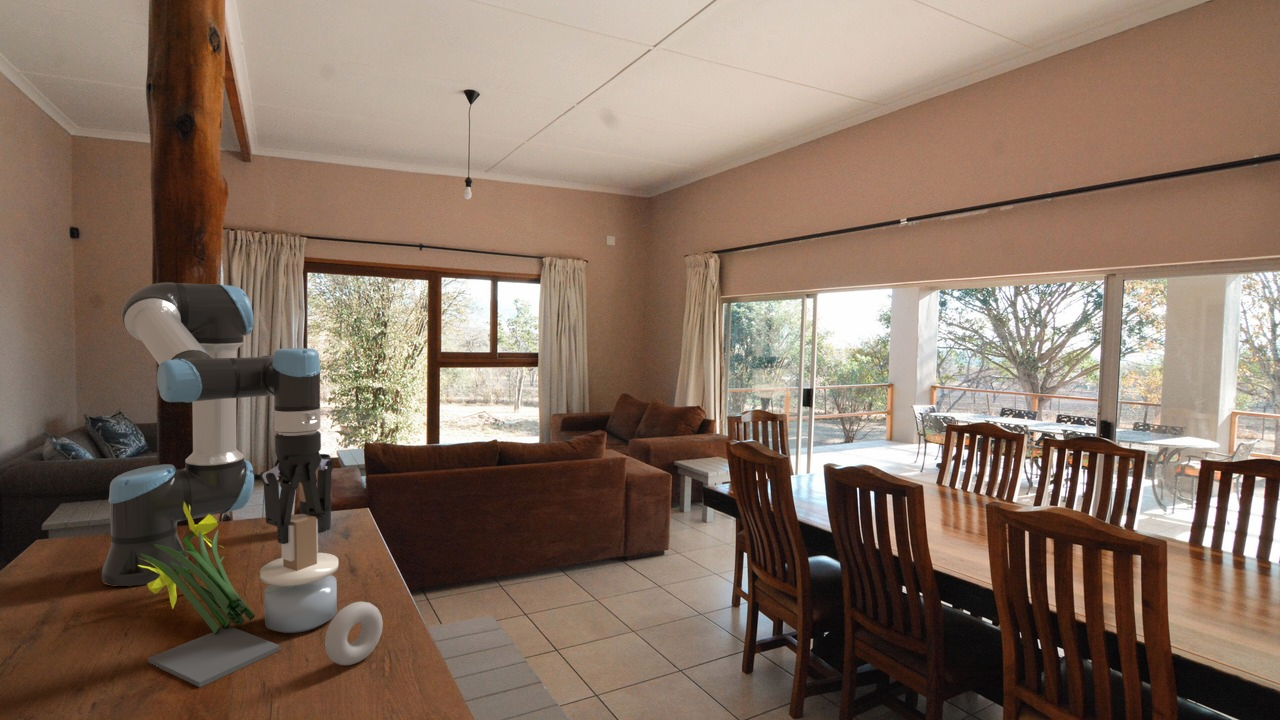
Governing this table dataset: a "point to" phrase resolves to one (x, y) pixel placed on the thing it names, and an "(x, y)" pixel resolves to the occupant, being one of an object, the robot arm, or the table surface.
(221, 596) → the daffodil flowers
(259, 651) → the mat
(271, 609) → the light blue short cylinder
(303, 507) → the travel mug
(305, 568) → the lid
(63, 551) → the table surface
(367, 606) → the donut
